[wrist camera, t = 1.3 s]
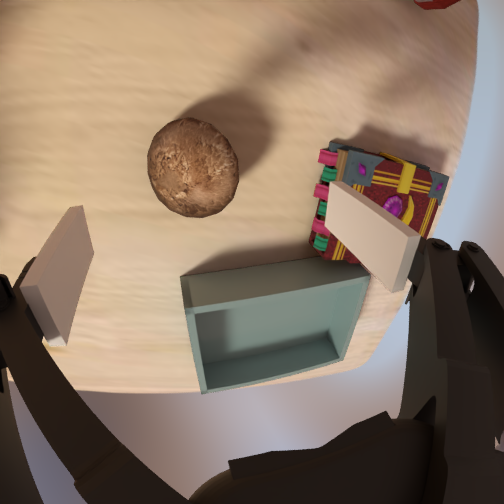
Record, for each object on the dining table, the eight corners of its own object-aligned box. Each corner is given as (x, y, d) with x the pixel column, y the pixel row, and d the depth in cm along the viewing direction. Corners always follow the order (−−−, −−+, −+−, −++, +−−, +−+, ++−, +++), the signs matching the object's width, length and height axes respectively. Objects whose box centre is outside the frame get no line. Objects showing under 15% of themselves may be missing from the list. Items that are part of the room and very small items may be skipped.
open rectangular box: (195, 364, 37) (201, 394, 33) (180, 276, 30) (184, 308, 26) (328, 336, 42) (343, 360, 38) (347, 252, 35) (370, 275, 30)
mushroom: (272, 140, 22) (242, 168, 18) (234, 209, 28) (202, 248, 23) (190, 94, 22) (142, 112, 17) (166, 166, 27) (124, 196, 23)
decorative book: (399, 243, 37) (422, 262, 33) (295, 241, 32) (315, 266, 28) (424, 164, 32) (452, 177, 27) (318, 137, 27) (346, 149, 22)
